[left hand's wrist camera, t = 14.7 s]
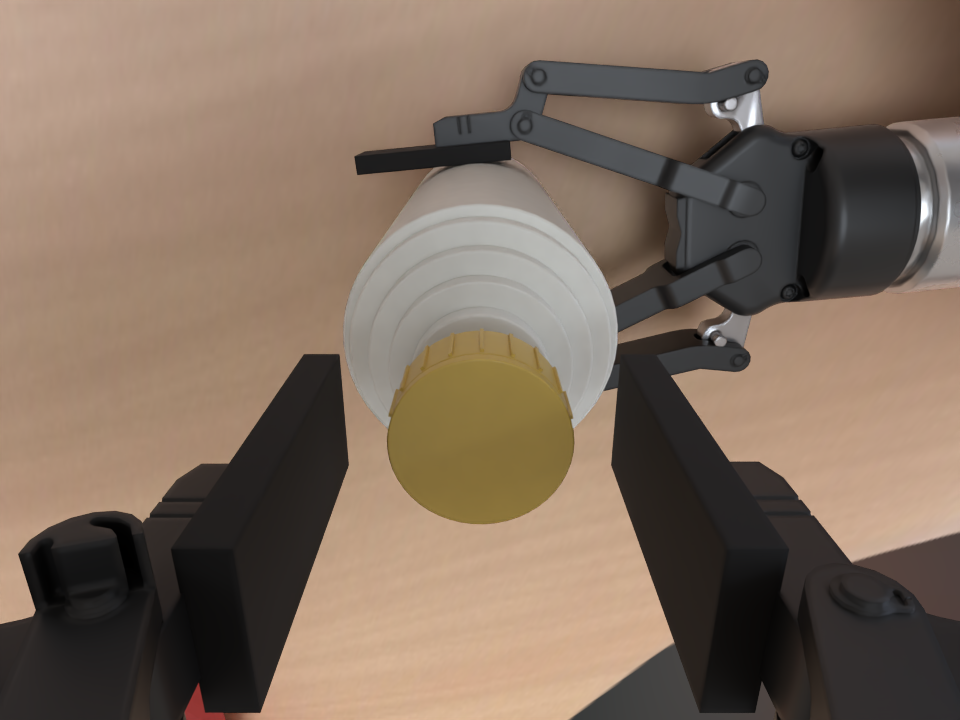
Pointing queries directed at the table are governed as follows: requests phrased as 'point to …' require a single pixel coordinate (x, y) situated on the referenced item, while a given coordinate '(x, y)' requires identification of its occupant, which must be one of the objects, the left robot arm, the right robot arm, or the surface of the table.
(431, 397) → the cap
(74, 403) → the table surface
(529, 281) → the bottle
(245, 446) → the left robot arm
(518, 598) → the table surface
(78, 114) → the table surface
